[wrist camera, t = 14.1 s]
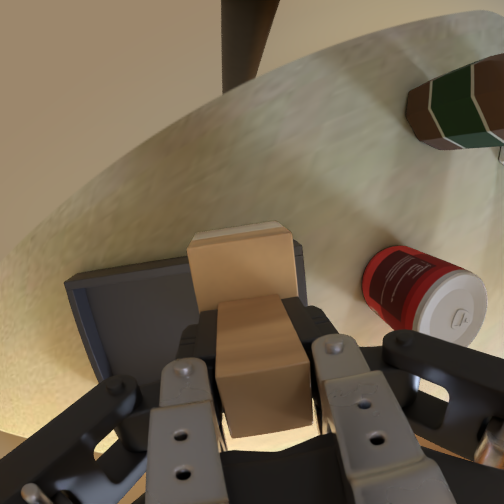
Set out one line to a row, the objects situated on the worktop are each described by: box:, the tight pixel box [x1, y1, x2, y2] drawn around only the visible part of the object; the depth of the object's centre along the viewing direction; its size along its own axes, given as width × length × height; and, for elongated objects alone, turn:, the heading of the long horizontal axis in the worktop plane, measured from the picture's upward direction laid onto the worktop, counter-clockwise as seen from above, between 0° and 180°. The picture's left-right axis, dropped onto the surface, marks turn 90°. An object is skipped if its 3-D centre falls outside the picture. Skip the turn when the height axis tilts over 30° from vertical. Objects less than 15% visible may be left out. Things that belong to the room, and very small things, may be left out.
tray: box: [64, 240, 308, 386], centre depth 28 cm, size 15×22×3 cm
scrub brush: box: [187, 221, 313, 438], centre depth 12 cm, size 7×4×9 cm, turn 8°
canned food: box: [362, 246, 487, 347], centre depth 25 cm, size 8×8×11 cm
